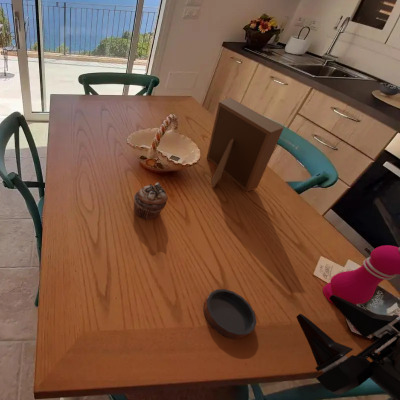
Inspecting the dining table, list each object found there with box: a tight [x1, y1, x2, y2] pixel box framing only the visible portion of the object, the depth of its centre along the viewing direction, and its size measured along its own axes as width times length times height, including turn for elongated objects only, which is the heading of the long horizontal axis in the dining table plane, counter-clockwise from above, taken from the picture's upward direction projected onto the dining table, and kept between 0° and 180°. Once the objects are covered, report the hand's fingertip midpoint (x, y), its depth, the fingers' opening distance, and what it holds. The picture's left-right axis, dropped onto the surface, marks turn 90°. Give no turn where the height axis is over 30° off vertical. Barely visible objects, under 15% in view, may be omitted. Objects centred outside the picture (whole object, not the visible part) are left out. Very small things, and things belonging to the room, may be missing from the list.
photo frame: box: [206, 97, 285, 193], centre depth 92 cm, size 15×22×25 cm
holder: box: [202, 288, 257, 340], centre depth 60 cm, size 10×10×2 cm
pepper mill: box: [322, 244, 400, 306], centre depth 59 cm, size 7×7×20 cm
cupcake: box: [133, 182, 169, 221], centre depth 81 cm, size 10×10×10 cm
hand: (315, 305), depth 47 cm, fingers open, 9 cm apart
